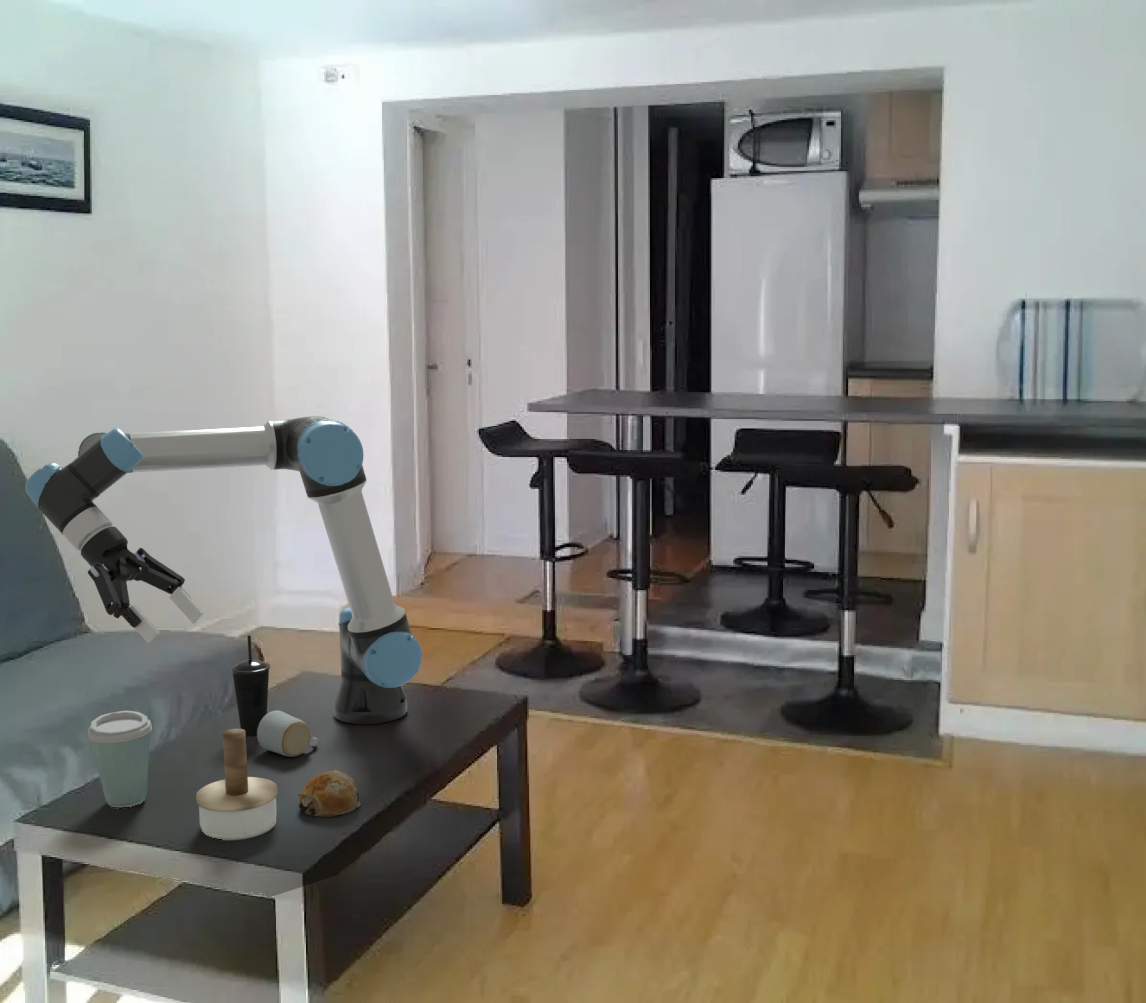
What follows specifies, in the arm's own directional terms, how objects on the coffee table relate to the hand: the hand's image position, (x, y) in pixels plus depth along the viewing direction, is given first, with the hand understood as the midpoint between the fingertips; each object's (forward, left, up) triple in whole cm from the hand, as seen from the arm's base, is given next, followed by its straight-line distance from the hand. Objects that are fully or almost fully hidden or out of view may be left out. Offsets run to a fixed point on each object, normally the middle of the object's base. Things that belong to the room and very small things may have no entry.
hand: (177, 628), depth 220 cm
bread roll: (-16, +23, -30) cm, 41 cm away
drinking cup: (-23, -21, -30) cm, 43 cm away
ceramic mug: (-23, -7, -30) cm, 39 cm away
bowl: (-1, +20, -30) cm, 36 cm away
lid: (-1, +20, -25) cm, 32 cm away
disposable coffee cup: (+10, -2, -30) cm, 32 cm away
